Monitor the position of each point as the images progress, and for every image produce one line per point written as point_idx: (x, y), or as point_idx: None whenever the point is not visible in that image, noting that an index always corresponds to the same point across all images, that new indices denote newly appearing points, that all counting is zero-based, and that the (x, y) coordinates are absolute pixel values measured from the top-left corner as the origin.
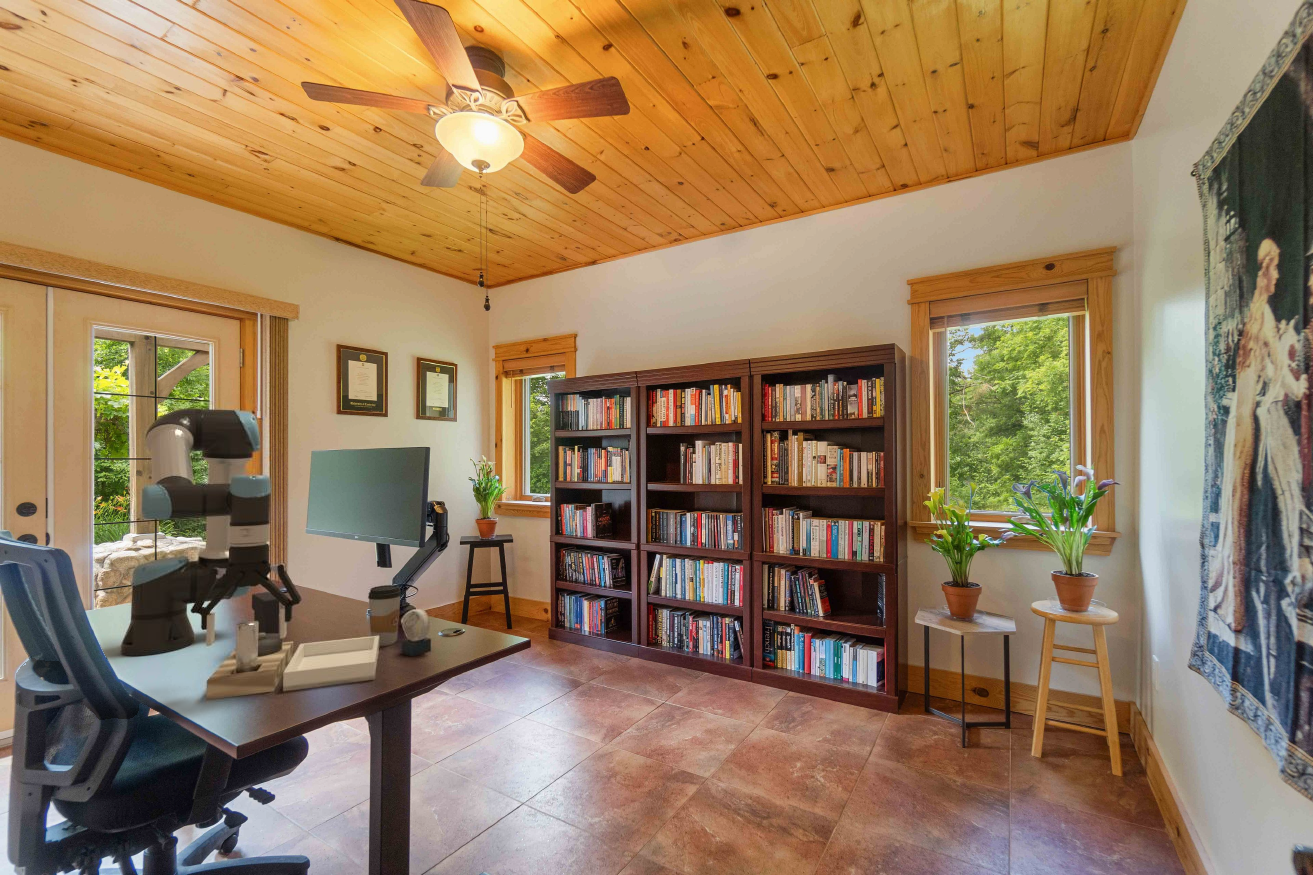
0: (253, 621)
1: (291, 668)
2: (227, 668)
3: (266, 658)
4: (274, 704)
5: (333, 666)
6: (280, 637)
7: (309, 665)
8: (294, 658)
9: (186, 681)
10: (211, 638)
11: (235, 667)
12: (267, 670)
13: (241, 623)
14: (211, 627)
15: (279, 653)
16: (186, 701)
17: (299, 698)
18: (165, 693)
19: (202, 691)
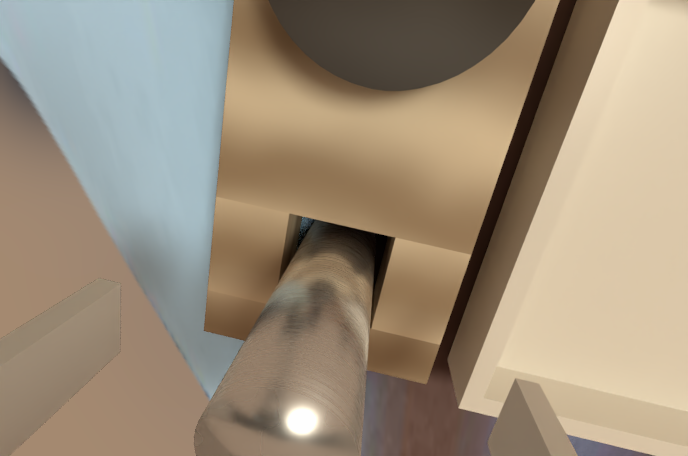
0: (318, 419)
1: (496, 358)
2: (256, 217)
3: (419, 153)
4: (412, 442)
5: (642, 448)
6: (490, 445)
7: (594, 169)
8: (538, 240)
9: (119, 15)
10: (91, 361)
11: (287, 220)
12: (407, 345)
13: (226, 426)
14: (22, 431)
15: (491, 89)
16: (178, 271)
17: (480, 441)
18: (89, 140)
19: (206, 197)
